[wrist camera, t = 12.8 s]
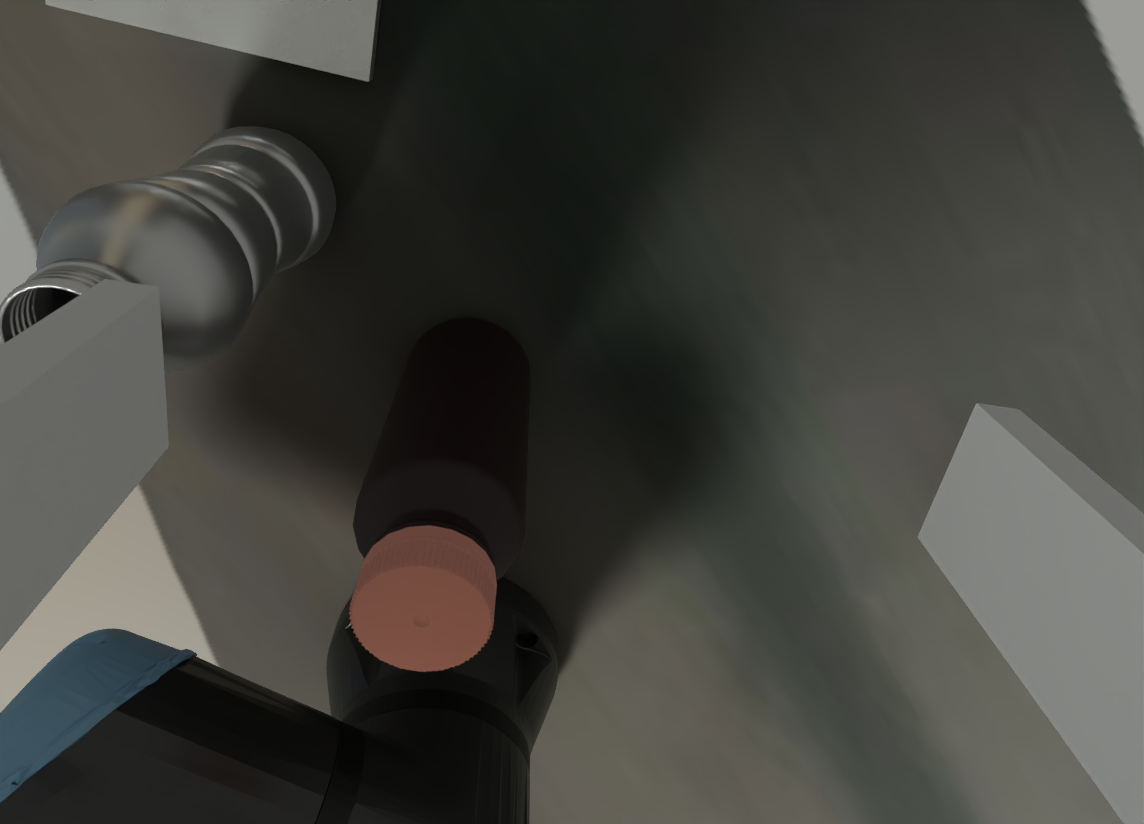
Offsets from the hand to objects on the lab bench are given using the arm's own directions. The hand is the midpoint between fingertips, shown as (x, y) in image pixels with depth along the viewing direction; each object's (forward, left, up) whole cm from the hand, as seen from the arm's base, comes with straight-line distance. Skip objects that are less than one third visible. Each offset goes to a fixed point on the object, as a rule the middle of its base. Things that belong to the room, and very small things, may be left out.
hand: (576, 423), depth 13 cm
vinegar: (-14, +2, -30) cm, 33 cm away
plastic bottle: (-6, +13, -30) cm, 33 cm away
